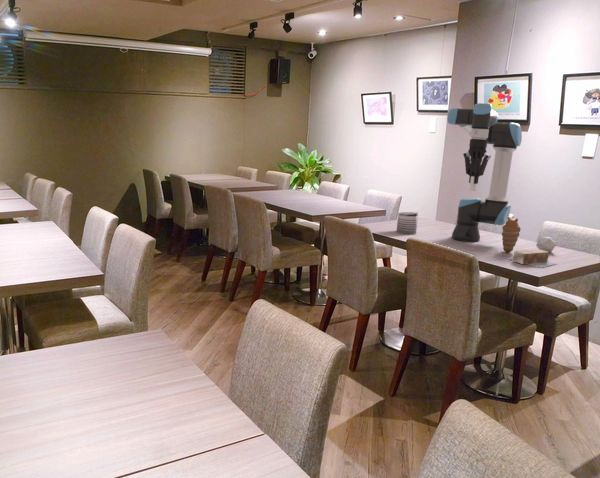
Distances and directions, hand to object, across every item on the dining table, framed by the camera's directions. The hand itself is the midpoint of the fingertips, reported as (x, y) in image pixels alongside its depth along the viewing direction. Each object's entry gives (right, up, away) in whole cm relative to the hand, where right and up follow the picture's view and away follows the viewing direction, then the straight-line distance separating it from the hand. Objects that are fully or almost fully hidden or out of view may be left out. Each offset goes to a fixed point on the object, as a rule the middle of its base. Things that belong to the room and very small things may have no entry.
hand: (472, 190), depth 237 cm
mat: (+30, -33, +7) cm, 46 cm away
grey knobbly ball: (+48, -29, +30) cm, 64 cm away
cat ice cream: (+26, -29, +24) cm, 46 cm away
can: (-18, -19, +60) cm, 66 cm away
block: (+22, -31, +2) cm, 38 cm away
